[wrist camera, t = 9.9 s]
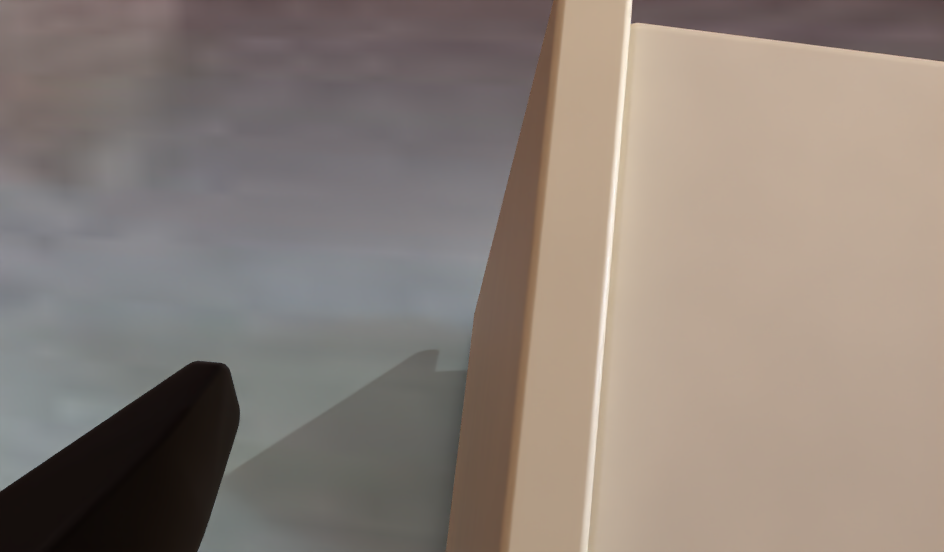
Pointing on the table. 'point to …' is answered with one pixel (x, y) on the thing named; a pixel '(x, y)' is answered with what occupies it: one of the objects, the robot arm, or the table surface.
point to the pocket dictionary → (710, 301)
